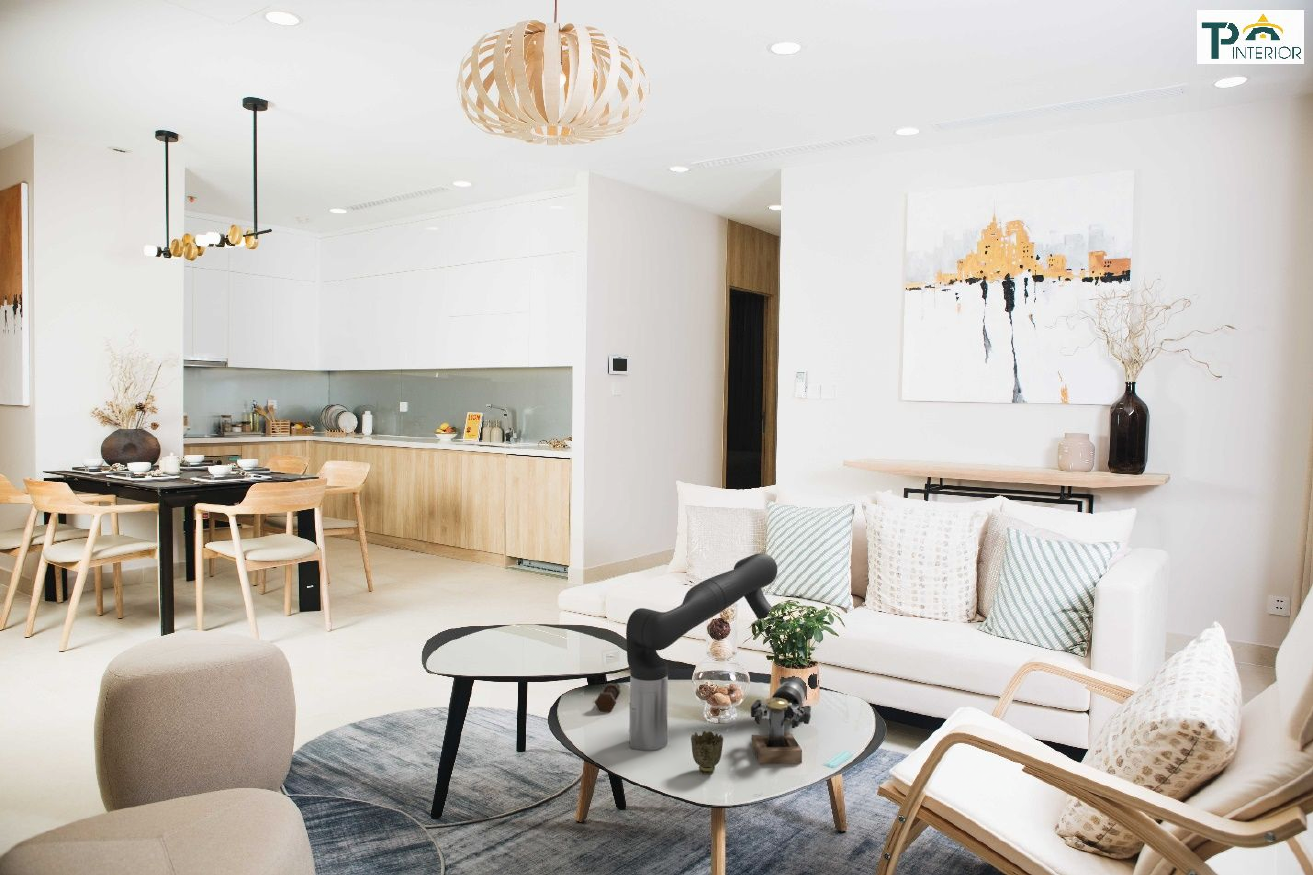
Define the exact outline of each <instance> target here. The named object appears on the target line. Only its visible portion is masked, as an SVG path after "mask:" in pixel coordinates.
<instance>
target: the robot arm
mask: <svg viewBox="0 0 1313 875" xmlns="http://www.w3.org/2000/svg"><path fill="white" fill-rule="evenodd" d="M777 575H778V565H777V562H776V560H775V559H774V558H773V557H772V556H771V555H770V554H767V553H762V552H760V553H755V554H752V555H750V556H747V557H744V558H742V559H740V560H738V561H737V562H736V563H735V565H734V566H733V569H732V570H728V571H725V572H722V573H720V574H717V575H714V576H711V577H709V578H707V579H705V580H703V581H701V582H699V583H697V584H696V585H694V586H692V587H691V588H690V589H688V591H687V592H686V594H685V595H684V598H683V599H682V603H681V604H680V605H679V606H677V607H674V608H673V609H670V610H668V611H665V612H664V611H657V610H653V609H650V608H644V607H640V608H639V607H638V608H637V609H634V610H633V611H632V612H631V614H630V615H629V617H628V619H627V624H626V629H625V636H626V637H625V639H626V642H625V643H626V660H627V664H628V667H629V671H630V672H629V673H630V676H629V677H630V679H629V680H630V686H629V687H630V690H629V691H630V692H629V693H630V694H629V697H630V698H629V699H630V702H629V728H628V729H629V734H628V735H629V746H630V749H635V750H636V749H637V750H641V751H657V750H661V749H664V748H666V747H667V745H668V709H669V708H668V702H669V700H668V698H669V697H668V696H669V692H668V691H669V689H668V684H669V683H668V681H669V674H668V673H669V667H668V663H667V662H666V661H665V660H664V658H663V657H661V656H660V655H659V653H658V651H662V650H665V649H667V648H668V647H670V646H672V645H673V644H674V643H675V642H677V641H678V640H680V638H682V637H683V636H684V635H686V634H687V633H688V632H689V631H691V630H692V629H694V628H696V627H698V626H700V625H701V624H703V623H704V622H705V621H707V620H710V619H711V618H713V617H715V616H716V615H719V614H720V613H722V612H723V611H725V610H726V609H728V608H729V607H731V606H732V605H734V604H735V603H737V602H738V601H739V600H741V599H742V598H745V601H746V602H747V604H748V605H749V607H750V608H751V610H752V612H753V614H754V615H755V617H756V618H757V620H758V621H759V619H761V618H765V617H767V615H768V614H769V612H770V611H771V609H772V608H773V609H774V607H773V606H772V605H771V604H770V603H769V601H768V600H767V598H766V597H765V595H764V592H763V590H762V588H764V587H768V586H769V585H771V584H772V583H773V582H774V581H775V579H776V578H777ZM770 615H771V614H770ZM784 620H785V621H786V619H785V618H784ZM771 627H772V626H768V627H767V628H766V629H763V631H764V633H765V637H767V636H769V634H770V629H771ZM768 642H769V644H770V647H771V650H772V652H773V654H774V656H776V652H777V651H776V649H775V650H774V646H773V644H772V640H770V641H769V640H768ZM817 674H818V673H817ZM817 674H814V673H813V675H812V674H811V675H810V676H809V678H808V685H809V687H810V688H811V689H814V690H816V689H817V688H818V687H819V684H820V679H819V680H818V685H817ZM779 684H781V685H779V686H778V687H776V689H775V692H774V693H773V694H772V696H771V698H782V699H785V700H787V701H788V708H787V709H784V721H790V722H791V729H796V728H797V727H799V726H800V725H801V724H802V723H803V724H805V725H808V724H810V721H811V718H812V717H811V716H812V715H811V714H812V707H811V705H806V706H805V707H803V706H804V703H805V702H804V701H805V700H806V697H807V695H808V694H807V693H808V692H807V686H806V683H805V682H804V681H803V680H802V679H801V678H799V677H795V676H792V677H788V678H784V677H781V679H779ZM750 717H751V718H754V720H753V721H754V722H755V723H756V724H757V725H760V724H761V722H762V721H763V719H767V720H769V708H767V707H766V703H762V700H761V699H757V700H755V701H754V702H753V704H752V705H751V706H750Z"/></svg>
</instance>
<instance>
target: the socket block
mask: <svg viewBox="0 0 1313 875" xmlns="http://www.w3.org/2000/svg"><path fill="white" fill-rule="evenodd" d="M751 749H752V751H753V753H754V752H755V753H754V755H755V756H756V759H757V761H758V763H759V764H760V765H770V764H774V765H775V764H776V765H777V764H802V763H803V749H802V748H801V746H800V744H799V743H798V741H797V740H796V738H795V736H794V735H793V733H784V747H769V734H751Z"/></svg>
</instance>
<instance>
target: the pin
mask: <svg viewBox="0 0 1313 875" xmlns="http://www.w3.org/2000/svg"><path fill="white" fill-rule="evenodd" d="M765 704H766V707H767V708H769V719H768V735H769V747H784V734H785V720H784V709H787V708H788V701H787V700H785V699H782V698H772V697H769V698H767V699H765Z"/></svg>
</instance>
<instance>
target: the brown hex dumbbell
mask: <svg viewBox="0 0 1313 875" xmlns="http://www.w3.org/2000/svg"><path fill="white" fill-rule="evenodd" d="M620 688H621V687H620V684H618V683H616V682H610V683H607V685H606V686H605V688H604V690H602V692H600V693H599V695H598V697H597V698H596V699H595V702H594V704H595V706H596V708H597V710H598V712H602V713H611V712H612V711H613V709H614V707H615V706H616V704H617V700H618V698H619V696H620V695H621V691H622V690H621V689H620Z"/></svg>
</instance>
